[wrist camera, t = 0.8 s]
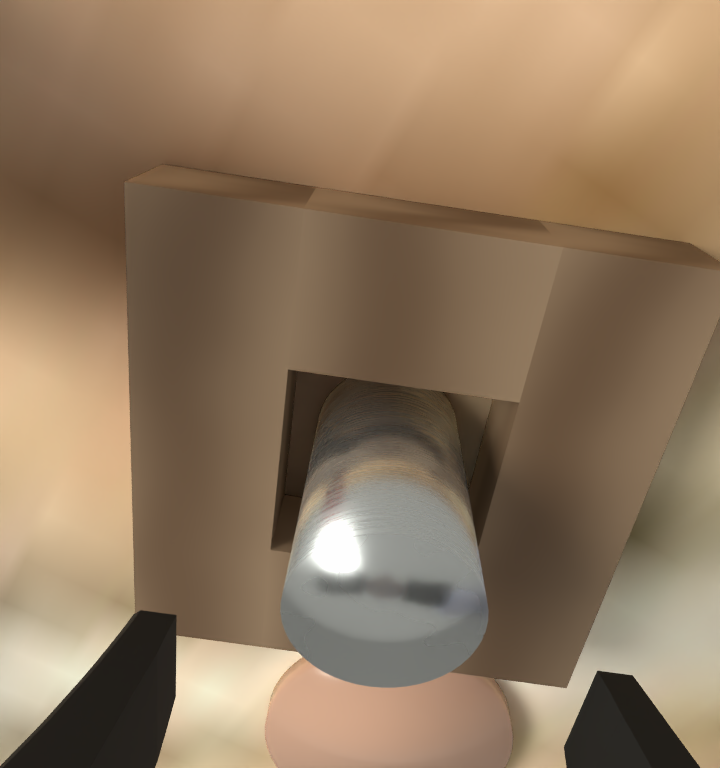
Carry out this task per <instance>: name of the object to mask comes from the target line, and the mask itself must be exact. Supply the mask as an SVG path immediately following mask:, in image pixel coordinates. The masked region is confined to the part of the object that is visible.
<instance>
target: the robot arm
mask: <svg viewBox="0 0 720 768" xmlns="http://www.w3.org/2000/svg"><path fill="white" fill-rule="evenodd" d="M176 623H177V615H174V614H166V613H158V612H151V611H143V610H140V611H138V612H137V613H135V614H134V615H133V616H132V617H131V619H130V620H129V621H128V623H127V624H126V625H125V627H124V628H123V629H122V631H121V632H120V633H119V634H118V636H117V637H116V638H115V640H114V641H113V642H112V643H111V645H110V646H109V647H108V648H107V649H106V651H105V652H104V653H103V654H102V656H101V657H100V658H99V659H98V660H97V662H96V663H95V664H94V665H93V666H92V667H91V669H90V670H89V671H88V672H87V673H86V675H85V676H84V677H83V678H82V679H81V680H80V682H79V683H78V684H77V685H76V686H75V687H74V688H73V689H72V690H71V692H70V693H69V694H68V695H67V696H66V697H65V698H64V699H63V700H62V702H61V703H60V704H59V705H58V706H57V707H56V708H55V709H54V710H53V712H52V713H51V714H50V715H49V716H48V717H47V718H46V719H45V720H44V722H43V723H42V724H41V725H40V726H39V727H38V728H37V729H36V730H35V731H34V732H33V733H32V734H31V735H30V736H29V737H28V738H27V739H26V740H25V741H24V742H23V743H22V744H21V745H20V746H19V747H18V748H17V749H16V750H15V751H14V752H13V753H12V755H11V756H10V757H9V758H8V759H7V760H6V761H5V762H4V763H3V764H2V765H1V766H0V768H155V766H156V763H157V761H158V757H159V754H160V750H161V747H162V743H163V740H164V736H165V733H166V729H167V726H168V722H169V718H170V715H171V711H172V708H173V704H174V700H175V697H176ZM564 751H565V758H566V766H567V768H700V767H699V765H698V764H697V763H696V761H695V760H694V759H693V757H692V756H691V754H690V753H689V752H688V750H687V749H686V748H685V746H684V745H683V744H682V742H681V741H680V740H679V738H678V737H677V735H676V734H675V733H674V731H673V730H672V729H671V727H670V726H669V724H668V723H667V722H666V720H665V719H664V718H663V716H662V715H661V714H660V712H659V711H658V709H657V708H656V707H655V705H654V704H653V703H652V701H651V700H650V698H649V697H648V696H647V694H646V693H645V692H644V690H643V689H642V687H641V686H640V685H639V683H638V682H637V681H636V679H635V678H634V677H633V675H625V674H618V673H610V672H602V671H597V673H596V675H595V678H594V680H593V682H592V684H591V687H590V689H589V691H588V694H587V696H586V698H585V700H584V703H583V705H582V707H581V709H580V712H579V714H578V716H577V719H576V721H575V723H574V725H573V728H572V730H571V732H570V735H569V737H568V739H567V741H566V744H565V746H564Z"/></svg>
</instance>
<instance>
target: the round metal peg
mask: <svg viewBox="0 0 720 768" xmlns="http://www.w3.org/2000/svg"><path fill="white" fill-rule="evenodd" d="M280 613H281V619H282V624H283V627H284V630H285V633H286V635H287V636H288V638H289V640H290V642H291V643H292V645H293V646H294V647H295V649H296V650H297V651H298V652H299V653H300V654H301V655H302V656H303V657H304V658H305V659H306V660H307V661H308V662H310V663H311V664H312V665H313V666H315V667H317V668H318V669H320V670H321V671H323V672H325V673H327V674H329V675H331V676H333V677H335V678H338V679H341V680H343V681H346V682H350V683H354V684H358V685H363V686H369V687H380V688H395V687H406V686H412V685H417V684H421V683H425V682H428V681H431V680H434V679H436V678H439V677H441V676H443V675H445V674H447V673H449V672H451V671H453V670H454V669H456V668H457V667H458V666H460V665H461V664H463V663H464V662H465V661H466V660H467V659H468V658H469V657H470V656H471V655H472V654H473V653H474V651H475V650H476V649H477V647H478V646H479V644H480V643H481V641H482V639H483V636H484V634H485V632H486V628H487V623H488V604H487V597H486V592H485V586H484V580H483V574H482V568H481V562H480V557H479V551H478V545H477V539H476V533H475V528H474V522H473V516H472V510H471V504H470V499H469V493H468V487H467V481H466V475H465V469H464V464H463V458H462V452H461V446H460V440H459V435H458V429H457V423H456V417H455V414H454V411H453V408H452V406H451V404H450V402H449V400H448V399H447V397H446V396H445V394H444V393H443V392H441V391H434V390H427V389H420V388H413V387H406V386H399V385H393V384H386V383H379V382H372V381H365V380H358V379H351V378H348V379H346V380H344V381H343V382H342V383H340V384H339V385H338V386H337V387H336V388H335V389H334V390H333V391H332V392H331V393H330V394H329V396H328V397H327V398H326V400H325V402H324V404H323V406H322V409H321V411H320V415H319V420H318V424H317V429H316V434H315V439H314V444H313V449H312V453H311V458H310V463H309V468H308V473H307V477H306V482H305V487H304V492H303V497H302V502H301V506H300V511H299V516H298V521H297V526H296V531H295V535H294V540H293V545H292V550H291V555H290V560H289V564H288V569H287V574H286V579H285V584H284V588H283V593H282V598H281V609H280Z"/></svg>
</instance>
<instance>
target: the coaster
mask: <svg viewBox="0 0 720 768" xmlns="http://www.w3.org/2000/svg"><path fill="white" fill-rule="evenodd" d="M265 739H266V744H267V748H268V751H269V753H270V756H271V758H272V759H273V761H274V763H275V764H276V766H277V767H278V768H505V767H506V765H507V763H508V761H509V759H510V755H511V752H512V747H513V732H512V725H511V720H510V714H509V708H508V705H507V702H506V699H505V696H504V694H503V692H502V690H501V689H500V687H499V685H498V684H497V683H496V681H495V680H494V679H493V678H488V677H481V676H474V675H466V674H459V673H451V672H449V673H447V674H445V675H443V676H441V677H439V678H436V679H434V680H431V681H428V682H425V683H421V684H417V685H412V686H406V687H395V688H380V687H369V686H363V685H358V684H354V683H350V682H346V681H343V680H341V679H338V678H335V677H333V676H331V675H329V674H327V673H325V672H323V671H321V670H320V669H318V668H317V667H315V666H313V665H312V664H311V663H310V662H308V661H307V660H306V659H305V658H304V657H303V658H301V659H300V660H298V661H297V662H296V663H295V664H293V665H292V666H291V667H290V668H289V669H288V670H287V671H286V672H285V673H284V674H283V675H282V677H281V678H280V680H279V681H278V683H277V684H276V686H275V688H274V690H273V693H272V695H271V699H270V704H269V709H268V714H267V719H266V724H265Z"/></svg>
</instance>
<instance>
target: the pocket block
mask: <svg viewBox="0 0 720 768" xmlns="http://www.w3.org/2000/svg"><path fill="white" fill-rule="evenodd" d="M124 199H125V238H126V277H127V316H128V354H129V393H130V432H131V471H132V510H133V549H134V587H135V613H137V612H138V611H140V610H143V611H151V612H158V613H166V614H174V615H177V623H176V635H178V636H185V637H192V638H200V639H207V640H215V641H222V642H229V643H237V644H244V645H252V646H259V647H266V648H274V649H281V650H289V651H296V652H298V651H297V650H296V649H295V647H294V646H293V645H292V643H291V642H290V640H289V638H288V636H287V635H286V633H285V630H284V627H283V624H282V619H281V613H280V609H281V598H282V593H283V588H284V584H285V579H286V574H287V569H288V564H289V560H290V555H291V550H292V545H293V540H294V535H295V531H296V526H297V521H298V516H299V511H300V506H301V502H302V497H295V496H288V495H284V492H285V483H286V473H287V464H288V454H289V444H290V435H291V425H292V416H293V406H294V396H295V387H296V377H297V371H302V372H309V373H316V374H323V375H330V376H337V377H344V378H351V379H358V380H365V381H372V382H379V383H386V384H393V385H399V386H406V387H413V388H420V389H427V390H434V391H441V392H448V393H455V394H462V395H469V396H476V397H483V398H490V399H493V401H492V404H491V408H490V412H489V416H488V420H487V424H486V427H485V431H484V435H483V439H482V443H481V447H480V450H479V454H478V458H477V462H476V466H475V469H474V473H473V477H472V481H471V485H470V489H469V492H468V493H469V499H470V504H471V510H472V516H473V522H474V528H475V533H476V539H477V545H478V551H479V557H480V562H481V568H482V574H483V580H484V586H485V592H486V597H487V604H488V623H487V628H486V632H485V634H484V636H483V639H482V641H481V643H480V644H479V646H478V647H477V649H476V650H475V651H474V653H473V654H472V655H471V656H470V657H469V658H468V659H467V660H466V661H465V662H464V663H463V664H461V665H460V666H458V667H457V668H456V669H454V670H453V671H451V673H459V674H466V675H474V676H481V677H488V678H496V679H503V680H511V681H518V682H525V683H533V684H540V685H548V686H555V687H562V688H567V685H568V683H569V680H570V678H571V676H572V673H573V671H574V668H575V666H576V664H577V661H578V659H579V656H580V654H581V652H582V649H583V647H584V644H585V642H586V639H587V637H588V635H589V632H590V630H591V627H592V625H593V623H594V620H595V618H596V615H597V613H598V610H599V608H600V606H601V603H602V601H603V598H604V596H605V594H606V591H607V589H608V586H609V584H610V581H611V579H612V577H613V574H614V572H615V569H616V567H617V565H618V562H619V560H620V557H621V555H622V552H623V550H624V548H625V545H626V543H627V540H628V538H629V536H630V533H631V531H632V528H633V526H634V523H635V521H636V519H637V516H638V514H639V511H640V509H641V507H642V504H643V502H644V499H645V497H646V494H647V492H648V490H649V487H650V485H651V482H652V480H653V478H654V475H655V473H656V470H657V468H658V465H659V463H660V461H661V458H662V456H663V453H664V451H665V449H666V446H667V444H668V441H669V439H670V436H671V434H672V432H673V429H674V427H675V424H676V422H677V420H678V417H679V415H680V412H681V410H682V407H683V405H684V403H685V400H686V398H687V395H688V393H689V391H690V388H691V386H692V383H693V381H694V378H695V376H696V374H697V371H698V369H699V366H700V364H701V362H702V359H703V357H704V354H705V352H706V349H707V347H708V345H709V342H710V340H711V337H712V335H713V333H714V330H715V328H716V325H717V323H718V320H719V318H720V262H719V261H717V260H716V259H714V258H713V257H711V256H709V255H708V254H706V253H705V252H703V251H701V250H700V249H698V248H697V247H695V246H693V245H692V244H690V243H684V242H678V241H671V240H664V239H658V238H651V237H644V236H638V235H631V234H624V233H618V232H611V231H604V230H598V229H591V228H584V227H578V226H571V225H564V224H558V223H551V222H544V221H538V220H531V219H524V218H518V217H511V216H504V215H498V214H491V213H484V212H478V211H471V210H464V209H458V208H451V207H444V206H438V205H431V204H424V203H418V202H411V201H404V200H398V199H391V198H384V197H378V196H371V195H364V194H358V193H351V192H344V191H338V190H331V189H324V188H318V187H311V186H304V185H298V184H291V183H284V182H278V181H271V180H264V179H258V178H251V177H244V176H238V175H231V174H224V173H218V172H211V171H204V170H198V169H191V168H184V167H178V166H171V165H164V164H162V165H160V166H157V167H155V168H153V169H151V170H149V171H146V172H144V173H142V174H140V175H138V176H136V177H133V178H131V179H129V180H127V181H125V182H124Z"/></svg>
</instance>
